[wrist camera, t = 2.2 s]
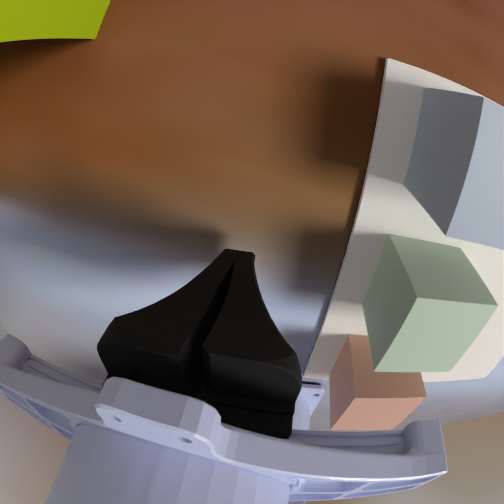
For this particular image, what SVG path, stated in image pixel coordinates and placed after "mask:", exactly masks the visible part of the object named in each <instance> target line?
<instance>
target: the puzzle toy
mask: <svg viewBox="0 0 504 504" xmlns="http://www.w3.org/2000/svg"><path fill="white" fill-rule="evenodd" d="M109 3H110V0H0V42H7V41H16V40H28V39H48V38H79V39H95V38H96V35H97V33H98V30H99V27H100V25H101V22H102V19H103V17H104V14H105V12H106V10H107V7H108V5H109Z"/></svg>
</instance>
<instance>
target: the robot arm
mask: <svg viewBox="0 0 504 504" xmlns="http://www.w3.org/2000/svg"><path fill="white" fill-rule="evenodd" d="M254 261H255V255H254V253H252V252H245V251H238V250H231V249H225V250H224V251H223V252H222V253H221V254H220V255H219V256H218V257H217V258H216V259H215V260H214V261H213V262H212V263H211V264H210V265H209V266H208V267H206V268H205V269H204V270H203V271H202V272H201V273H200V274H199V275H197V276H196V277H195V278H194V279H192V280H191V281H190V282H189V283H187V284H186V285H185V286H183V287H182V288H180V289H179V290H177V291H176V292H174V293H173V294H171V295H169V296H167V297H166V298H164V299H162V300H160V301H158V302H156V303H154V304H152V305H149V306H147V307H145V308H142V309H140V310H137V311H134V312H131V313H128V314H125V315H122V316H118V317H115V318H114V319H113V321H112V322H111V323H110V324H109V326H108V327H107V329H106V331H105V332H104V334H103V336H102V337H101V339H100V341H99V342H98V344H97V351H98V354H99V356H100V358H101V360H102V362H103V364H104V366H105V368H106V370H107V372H108V375H107V377H106V379H105V381H104V383H103V385H102V386H101V385H99V384H96V383H94V382H91V381H89V380H86V379H84V378H81V377H79V376H77V375H74V374H72V373H70V372H68V371H65V370H63V369H61V368H59V367H57V366H54V365H52V364H50V363H48V362H46V361H44V360H42V359H40V358H38V357H36V356H34V355H32V354H31V352H30V350H29V349H28V347H27V346H26V345H25V344H24V343H23V342H22V341H21V340H19V339H17V338H15V337H13V336H12V335H10V334H7V335H6V337H5V338H4V339H3V341H2V342H1V343H0V391H1V392H2V393H3V394H4V395H5V397H6V398H8V400H10V401H11V402H13V403H14V404H15V405H17V406H18V407H20V408H21V409H22V410H24V411H25V412H27V413H28V414H30V415H31V416H33V417H34V418H36V419H37V420H39V421H40V422H42V423H43V424H45V425H46V426H48V427H50V428H51V429H53V430H54V431H56V432H57V433H59V434H61V435H63V436H64V437H66V438H68V439H69V440H71V442H70V444H69V446H68V448H67V451H66V453H65V456H64V458H63V460H62V462H61V465H60V467H59V470H58V472H57V475H56V477H55V480H54V482H53V485H52V487H51V490H50V492H49V495H48V498H47V501H46V503H45V504H306V501H319V500H336V499H348V498H357V497H365V496H373V495H380V494H386V493H392V492H398V491H404V490H410V489H414V488H416V487H419V486H421V485H423V484H425V483H427V482H429V481H431V480H433V479H435V478H437V477H439V476H441V475H443V474H445V473H447V471H448V468H447V460H446V453H445V447H444V440H443V434H442V430H441V424H440V419H438V418H437V419H428V420H419V421H414V422H412V423H410V424H408V425H407V426H406V427H405V428H404V430H396V431H377V432H329V431H309V421H310V416H311V414H312V413H313V411H314V409H315V408H316V406H317V404H318V403H319V401H320V399H321V397H322V396H323V394H324V392H325V388H324V387H323V386H321V385H311V384H302V376H301V370H300V365H299V361H298V358H297V355H296V353H295V352H294V350H293V349H292V348H291V347H290V346H289V344H288V343H287V342H286V341H285V339H284V338H283V336H282V335H281V333H280V332H279V330H278V329H277V327H276V325H275V324H274V322H273V320H272V319H271V317H270V315H269V313H268V311H267V308H266V306H265V304H264V301H263V299H262V296H261V293H260V290H259V287H258V283H257V278H256V274H255V267H254Z"/></svg>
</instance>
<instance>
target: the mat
mask: <svg viewBox="0 0 504 504" xmlns="http://www.w3.org/2000/svg"><path fill="white" fill-rule="evenodd" d="M424 87H428V88H435V89H442V90H449V91H455V92H461V93H466V94H471V95H476V96H481V97H484V96H482V95H480V94H478V93H476V92H474V91H472V90H470V89H468V88H466V87H464V86H461V85H459V84H457V83H455V82H452V81H450V80H448V79H445V78H443V77H441V76H438V75H436V74H433V73H430V72H428V71H425V70H422V69H420V68H417V67H414V66H411V65H408V64H405V63H402V62H399V61H396V60H392V59H389V58H386V60H385V68H384V76H383V84H382V90H381V97H380V104H379V110H378V116H377V121H376V127H375V132H374V138H373V143H372V148H371V153H370V158H369V162H368V167H367V171H366V176H365V180H364V185H363V189H362V193H361V197H360V201H359V205H358V209H357V213H356V217H355V221H354V224H353V228H352V232H351V235H350V239H349V243H348V246H347V250H346V253H345V256H344V260H343V263H342V266H341V270H340V273H339V276H338V279H337V282H336V286H335V289H334V292H333V295H332V298H331V301H330V304H329V307H328V310H327V313H326V315H325V318H324V321H323V324H322V327H321V330H320V332H319V335H318V338H317V341H316V343H315V346H314V349H313V351H312V354H311V356H310V359H309V362H308V364H307V367H306V369H305V372H304V374H303V377H304V378H314V379H326V380H329V374H330V372H331V370H332V368H333V366H334V364H335V362H336V360H337V358H338V356H339V354H340V352H341V350H342V348H343V346H344V344H345V341H346V339H347V337H348V335H349V334H354V335H365V336H368V333H367V327H366V322H365V317H364V312H363V307H362V303H363V301H364V298H365V296H366V293H367V291H368V289H369V286H370V284H371V281H372V278H373V276H374V273H375V271H376V268H377V265H378V263H379V260H380V257H381V254H382V251H383V249H384V246H385V243H386V240H387V237H388V234H393V235H398V236H404V237H409V238H414V239H419V240H424V241H429V242H435V243H439V244H444V245H449V246H454V247H459V248H461V249H462V251H463V252H464V254H465V255H466V256H467V258H468V259H469V261H470V262H471V264H472V265H473V266H474V268H475V269H476V271H477V272H478V274H479V275H480V277H481V278H482V280H483V281H484V283H485V285H486V286H487V288H488V289H489V291H490V293H491V294H492V296H493V297H494V299H495V301H496V302H497V304H498V307H497V308H496V310H495V312H494V313H493V315H492V316H491V318H490V319H489V321H488V322H487V324H486V325H485V327H484V328H483V329H482V331H481V332H480V334H479V335H478V336H477V338H476V339H475V340H474V342H473V343H472V344H471V346H470V347H469V348H468V350H467V351H466V352H465V354H464V355H463V356H462V357H461V359H460V360H459V361H458V362H457V363H456V365H455V366H454V367H453V368H452V369H451V371H447V372H421V375H422V379H423V382H436V381H454V380H466V379H477V378H485V377H486V376H487V375H488V374H489V373H490V371H491V370H492V369H493V368H494V367H495V366H496V365H497V363H498V362H499V361H500V360H501V359H502V358H503V356H504V250H501V249H498V248H494V247H490V246H486V245H481V244H477V243H473V242H469V241H465V240H460V239H456V238H451V237H447V236H445V235H444V234H443V232H442V231H441V230H440V228H439V227H438V226H437V224H436V223H435V222H434V221H433V219H432V218H431V217H430V216H429V214H428V213H427V212H426V211H425V209H424V208H423V207H422V206H421V205H420V203H419V202H418V201H417V200H416V199H415V197H414V196H413V195H412V194H411V193H410V192H409V190H408V189H407V188H406V187H405V186H404V185H403V184H404V181H405V177H406V173H407V169H408V165H409V161H410V157H411V153H412V148H413V144H414V139H415V135H416V130H417V125H418V120H419V114H420V109H421V103H422V97H423V91H424ZM484 98H486V97H484ZM486 99H488V98H486ZM488 100H490V99H488ZM490 101H492V100H490ZM492 102H493V101H492ZM494 103H495V102H494ZM496 104H497V103H496ZM497 105H499V104H497ZM499 106H501V105H499ZM501 107H502V106H501ZM503 108H504V107H503Z"/></svg>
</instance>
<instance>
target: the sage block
mask: <svg viewBox="0 0 504 504" xmlns="http://www.w3.org/2000/svg"><path fill="white" fill-rule="evenodd" d="M362 307H363V312H364V317H365V322H366V327H367V333H368V338H369V344H370V350H371V356H372V363H373V370H374V371H375V372H447V371H451V369H452V368H453V367H454V366H455V365H456V363H457V362H458V361H459V360H460V359H461V357H462V356H463V355H464V354H465V352H466V351H467V350H468V348H469V347H470V346H471V344H472V343H473V342H474V340H475V339H476V338H477V336H478V335H479V334H480V332H481V331H482V329H483V328H484V327H485V325H486V324H487V322H488V321H489V319H490V318H491V316H492V315H493V313H494V312H495V310H496V308H497V307H498V304H497V302H496V301H495V299H494V297H493V296H492V294H491V293H490V291H489V289H488V288H487V286H486V285H485V283H484V281H483V280H482V278H481V277H480V275H479V274H478V272H477V271H476V269H475V268H474V266H473V265H472V264H471V262H470V261H469V259H468V258H467V256H466V255H465V254H464V252H463V251H462V249H461V248H459V247H454V246H449V245H444V244H439V243H435V242H429V241H424V240H419V239H414V238H409V237H404V236H398V235H393V234H388V237H387V240H386V243H385V246H384V249H383V251H382V254H381V257H380V260H379V263H378V265H377V268H376V271H375V273H374V276H373V278H372V281H371V284H370V286H369V289H368V291H367V293H366V296H365V298H364V301H363V303H362Z"/></svg>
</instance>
